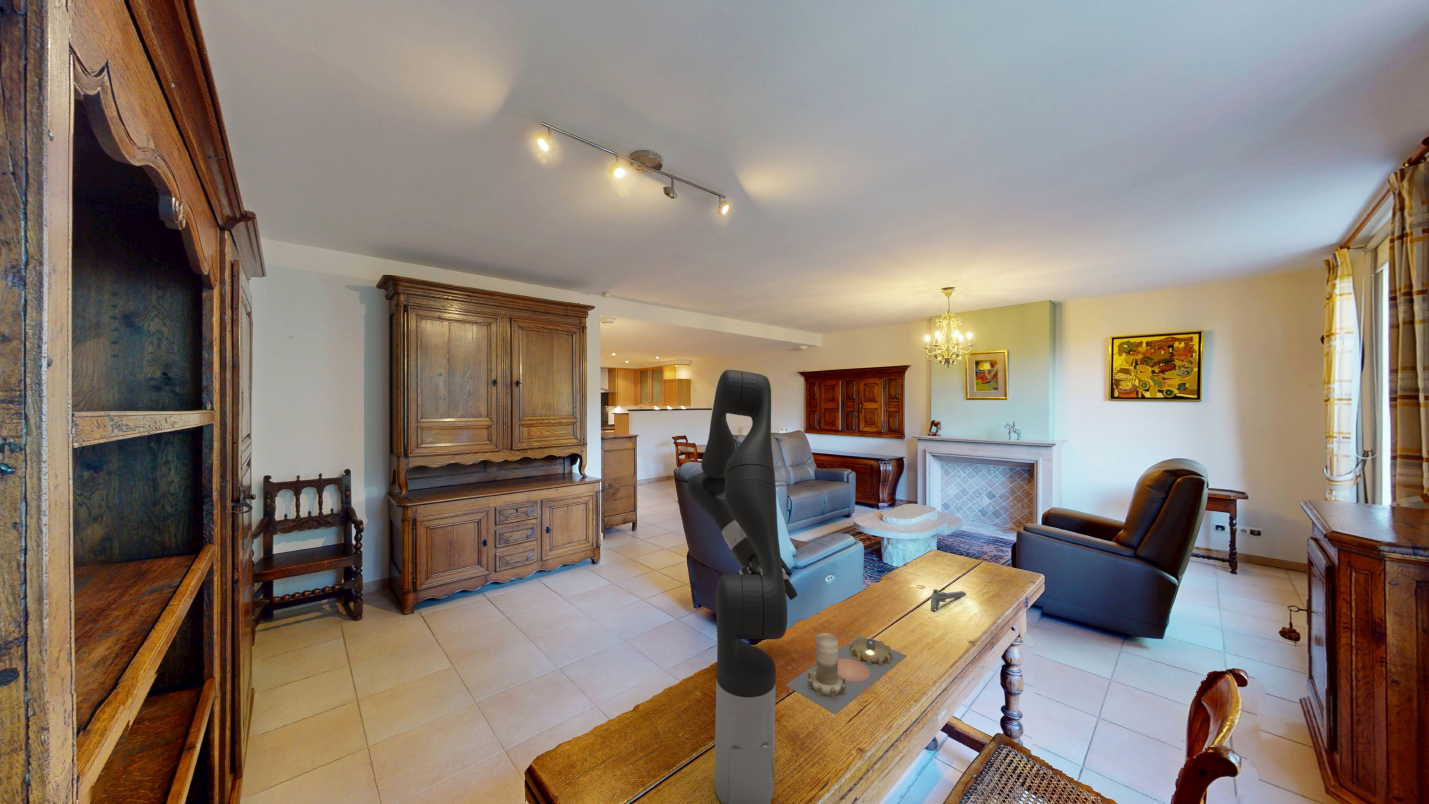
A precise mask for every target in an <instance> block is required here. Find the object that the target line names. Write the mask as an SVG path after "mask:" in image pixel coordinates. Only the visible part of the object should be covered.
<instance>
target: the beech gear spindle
mask: <svg viewBox="0 0 1429 804" xmlns="http://www.w3.org/2000/svg"><path fill="white" fill-rule="evenodd" d="M815 645H816V646H815V647H816V648H815V655H816V656H815V665H816V671H814V672H811V671H810V672H809V673H808V688H809V689H813V690H814V691H815V692H816V693H817V696H820V697H821V695H824V696H830V697H831V698H832V699H836V696H837V695H839V694H843V695H844V694H845V687H846V685H845V678H844V676H842V677H840V676H839V675H838V650H839V637H837V636H836V635H835V634H832V633H828V632H827V633H826V632H822V633H818V634H817V635H816V641H815Z"/></svg>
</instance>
